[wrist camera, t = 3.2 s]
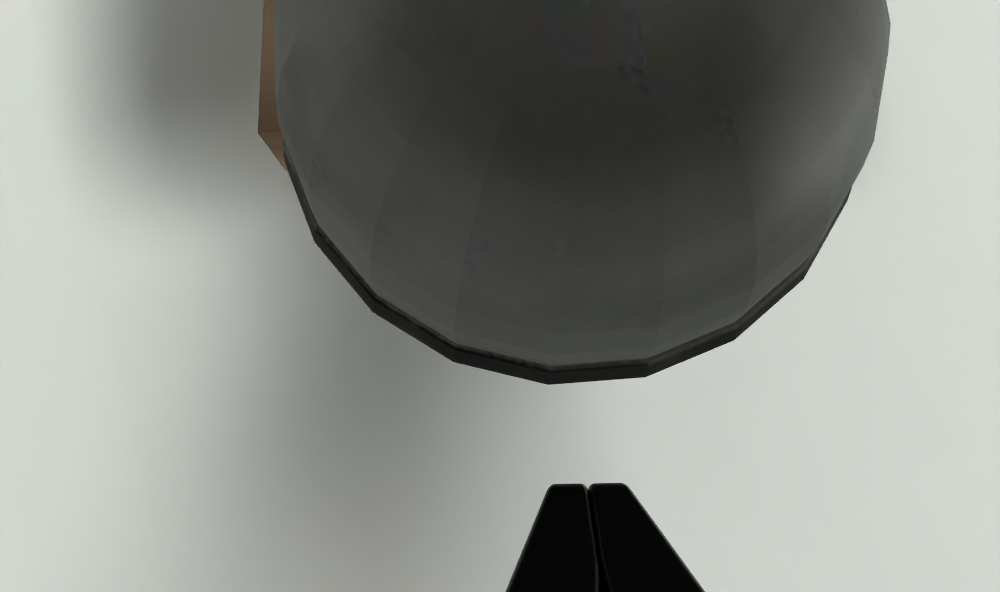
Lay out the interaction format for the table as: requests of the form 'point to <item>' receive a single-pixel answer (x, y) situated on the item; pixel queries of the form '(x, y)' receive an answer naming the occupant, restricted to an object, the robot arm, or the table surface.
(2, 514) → the table surface
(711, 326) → the beverage cup
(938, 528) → the table surface
